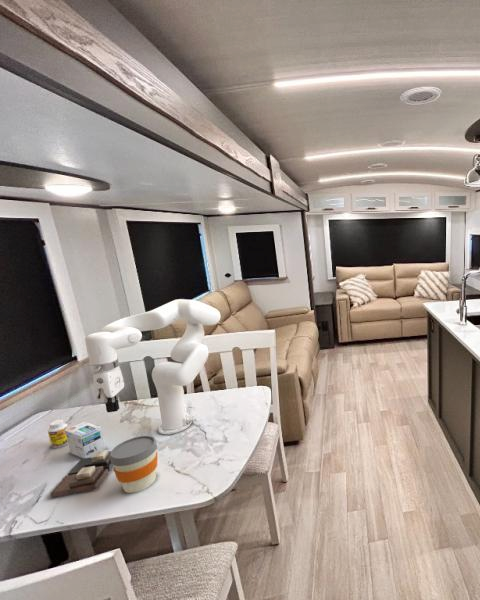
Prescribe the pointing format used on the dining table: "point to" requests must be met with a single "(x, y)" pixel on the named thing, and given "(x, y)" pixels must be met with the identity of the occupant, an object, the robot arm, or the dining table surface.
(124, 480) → the reusable coffee cup
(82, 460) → the key block
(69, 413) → the dining table surface
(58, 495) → the key block
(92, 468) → the key
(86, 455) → the light bulb box
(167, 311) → the robot arm
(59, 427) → the supplement bottle
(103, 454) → the key
